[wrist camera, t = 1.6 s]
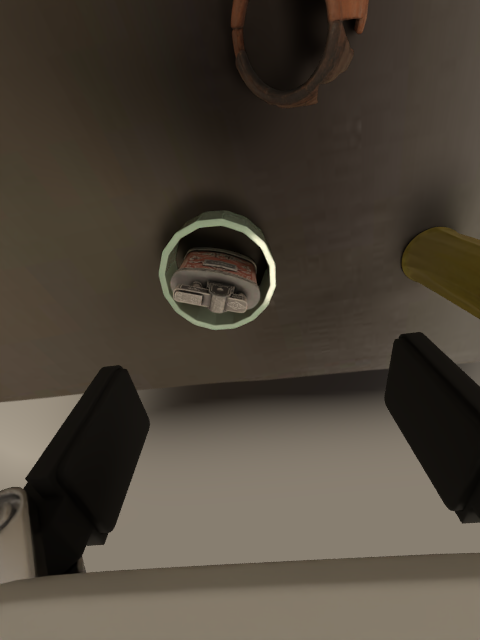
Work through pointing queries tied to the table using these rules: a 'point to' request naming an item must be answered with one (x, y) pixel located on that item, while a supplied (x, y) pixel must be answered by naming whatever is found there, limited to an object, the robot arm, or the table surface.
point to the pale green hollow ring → (201, 313)
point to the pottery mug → (341, 5)
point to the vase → (446, 266)
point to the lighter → (216, 280)
